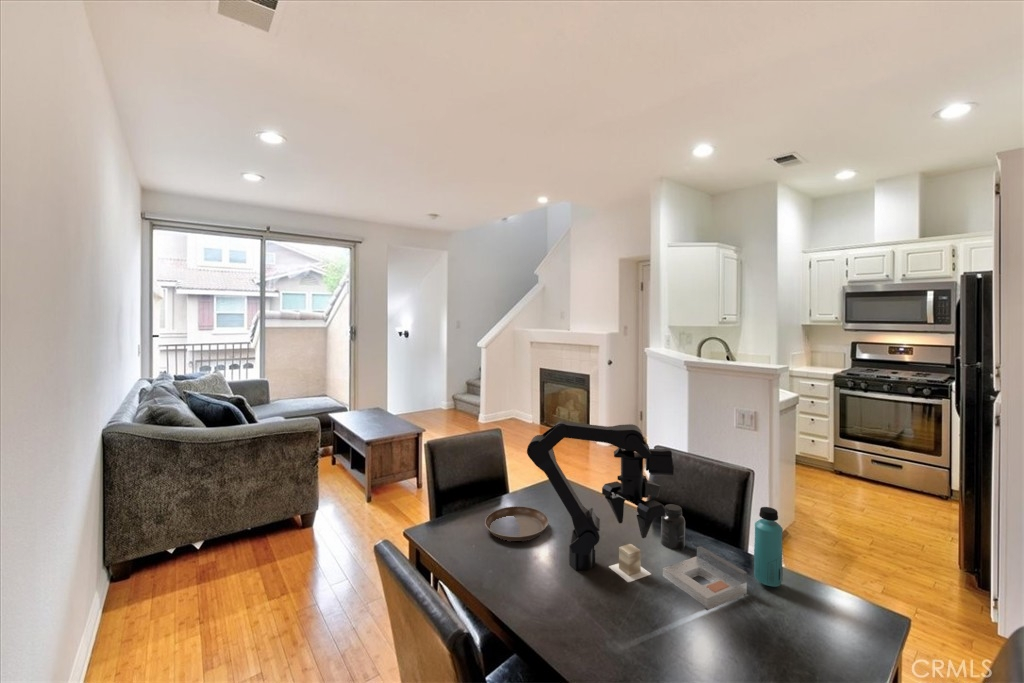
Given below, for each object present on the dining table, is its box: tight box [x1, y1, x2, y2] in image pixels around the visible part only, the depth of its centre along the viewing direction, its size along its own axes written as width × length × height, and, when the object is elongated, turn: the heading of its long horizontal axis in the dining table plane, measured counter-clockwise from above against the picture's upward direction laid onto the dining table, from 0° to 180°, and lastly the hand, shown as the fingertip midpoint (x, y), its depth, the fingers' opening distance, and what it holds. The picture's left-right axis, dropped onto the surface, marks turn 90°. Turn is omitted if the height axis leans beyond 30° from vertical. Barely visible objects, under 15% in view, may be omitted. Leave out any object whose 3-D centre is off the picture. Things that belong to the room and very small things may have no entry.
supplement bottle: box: [660, 503, 686, 551], centre depth 133 cm, size 7×7×12 cm
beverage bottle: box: [752, 506, 784, 587], centre depth 113 cm, size 6×7×20 cm
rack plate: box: [662, 545, 748, 611], centre depth 113 cm, size 14×14×6 cm
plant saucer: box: [484, 505, 549, 542], centre depth 144 cm, size 21×21×3 cm
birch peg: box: [618, 543, 642, 576], centre depth 119 cm, size 4×4×6 cm
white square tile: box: [608, 562, 652, 583], centre depth 119 cm, size 8×8×1 cm
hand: (631, 530), depth 119 cm, fingers open, 9 cm apart
